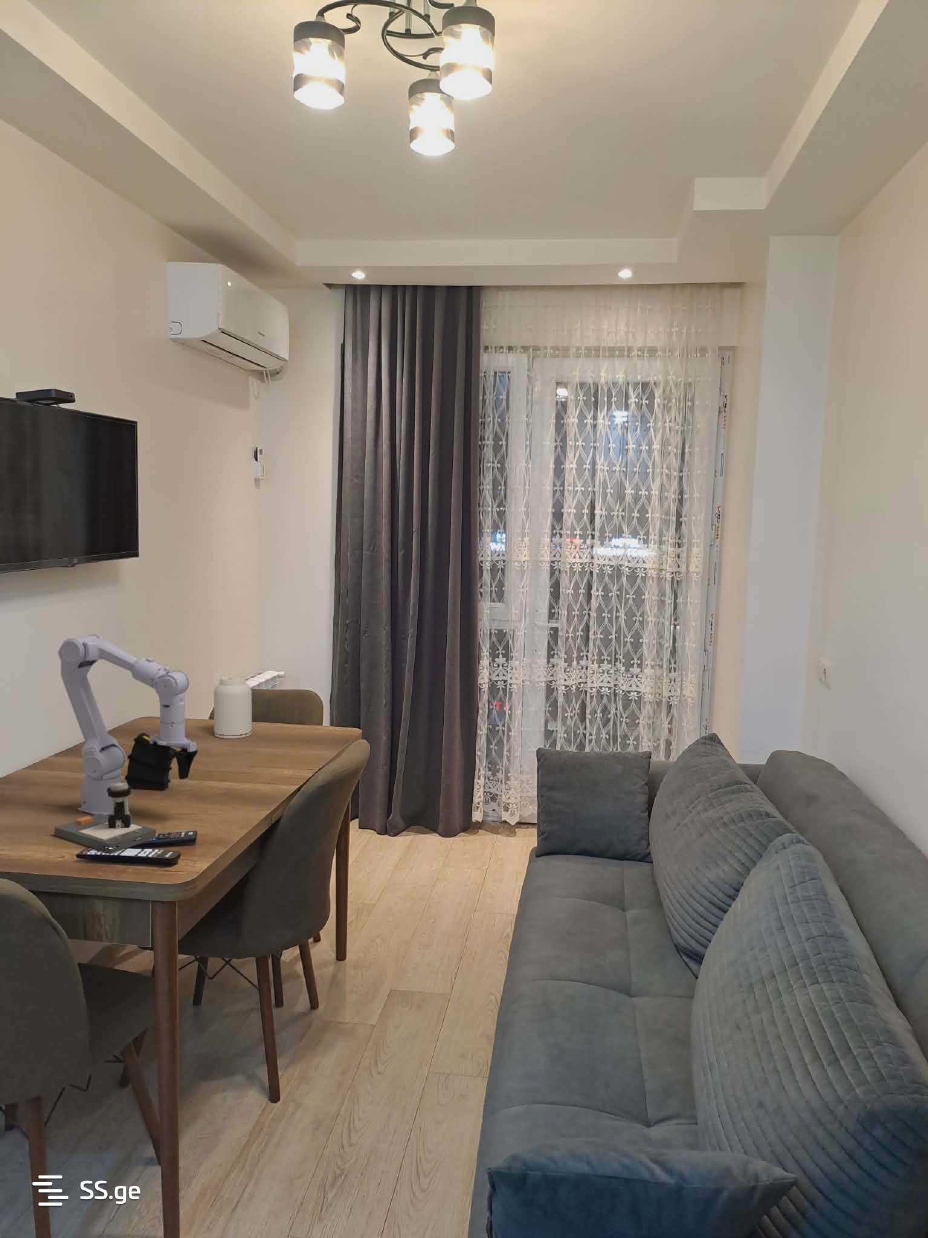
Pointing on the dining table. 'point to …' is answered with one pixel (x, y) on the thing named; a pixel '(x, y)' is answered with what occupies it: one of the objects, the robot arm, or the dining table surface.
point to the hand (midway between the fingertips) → (173, 775)
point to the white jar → (232, 707)
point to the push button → (119, 806)
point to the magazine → (146, 766)
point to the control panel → (103, 833)
